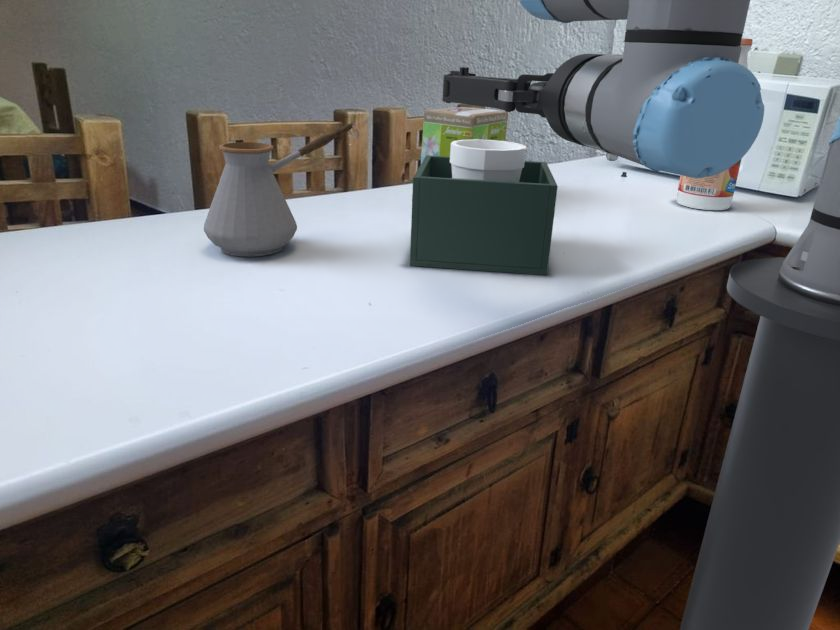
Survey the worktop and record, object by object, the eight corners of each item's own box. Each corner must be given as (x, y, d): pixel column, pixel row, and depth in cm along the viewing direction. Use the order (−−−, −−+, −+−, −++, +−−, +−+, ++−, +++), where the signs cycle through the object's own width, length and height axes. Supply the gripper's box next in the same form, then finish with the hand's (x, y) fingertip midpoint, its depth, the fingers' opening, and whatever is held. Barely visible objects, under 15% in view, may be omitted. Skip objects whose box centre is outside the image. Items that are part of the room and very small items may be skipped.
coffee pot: (226, 267, 77) (216, 135, 71) (192, 243, 85) (180, 123, 79) (378, 242, 89) (380, 128, 83) (335, 223, 97) (334, 118, 92)
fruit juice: (669, 198, 124) (699, 37, 113) (720, 201, 123) (755, 39, 113) (682, 209, 115) (716, 36, 105) (738, 212, 115) (777, 39, 104)
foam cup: (510, 236, 91) (519, 140, 86) (523, 256, 83) (534, 151, 78) (442, 234, 91) (447, 138, 86) (448, 254, 82) (454, 148, 77)
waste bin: (537, 238, 94) (546, 162, 90) (546, 275, 79) (557, 185, 75) (422, 230, 95) (425, 155, 91) (409, 265, 80) (413, 177, 76)
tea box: (468, 204, 112) (474, 114, 107) (417, 196, 117) (420, 109, 111) (502, 190, 124) (509, 109, 119) (454, 183, 129) (459, 104, 123)
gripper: (457, 147, 54) (401, 118, 73) (720, 148, 60) (605, 121, 79) (463, 48, 51) (403, 45, 70) (739, 60, 57) (615, 54, 76)
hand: (510, 85), depth 74 cm, fingers open, 13 cm apart
